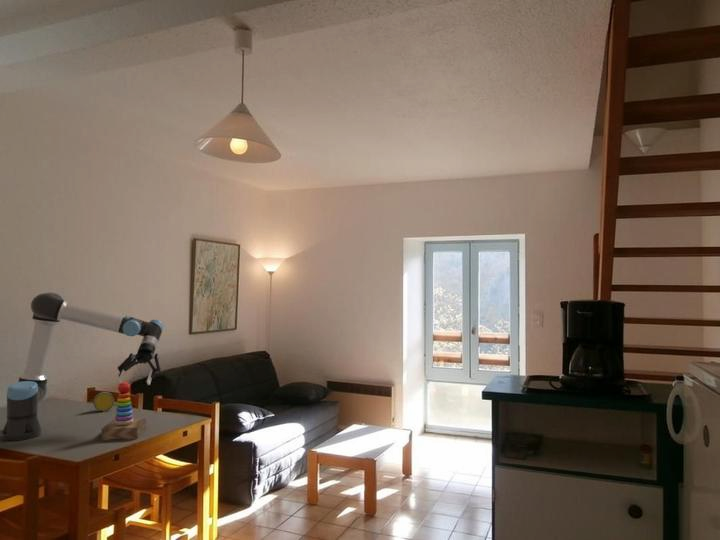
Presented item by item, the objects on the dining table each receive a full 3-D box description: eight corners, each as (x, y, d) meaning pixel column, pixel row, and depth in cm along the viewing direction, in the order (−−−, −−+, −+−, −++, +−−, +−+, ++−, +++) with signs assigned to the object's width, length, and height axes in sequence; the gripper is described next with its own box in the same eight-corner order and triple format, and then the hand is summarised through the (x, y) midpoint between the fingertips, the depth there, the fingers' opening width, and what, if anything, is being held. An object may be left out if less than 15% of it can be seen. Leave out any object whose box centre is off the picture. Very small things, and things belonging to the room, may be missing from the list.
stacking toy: (137, 421, 240) (137, 381, 240) (125, 426, 232) (126, 384, 232) (122, 420, 242) (123, 380, 242) (110, 425, 234) (111, 383, 234)
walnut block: (101, 440, 228) (101, 429, 228) (112, 430, 243) (112, 420, 243) (137, 438, 230) (137, 427, 231) (145, 429, 245) (145, 418, 245)
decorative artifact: (93, 412, 276) (93, 394, 276) (92, 410, 282) (92, 391, 282) (114, 410, 281) (114, 391, 281) (112, 407, 287) (112, 389, 287)
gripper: (174, 351, 262) (162, 387, 247) (125, 351, 263) (110, 387, 247) (170, 342, 257) (157, 378, 242) (120, 342, 257) (104, 378, 242)
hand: (133, 383), depth 244 cm, fingers open, 13 cm apart
